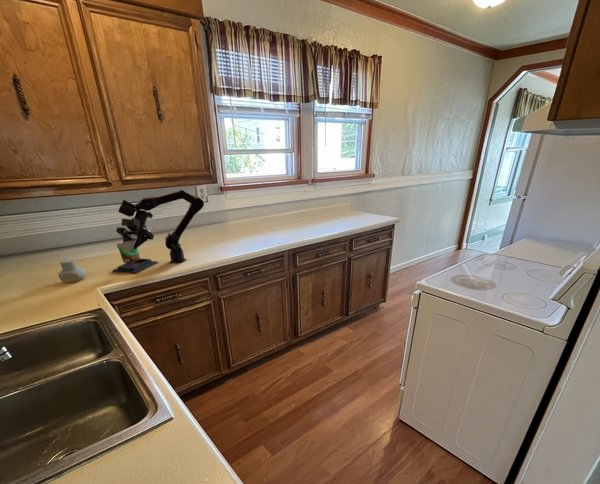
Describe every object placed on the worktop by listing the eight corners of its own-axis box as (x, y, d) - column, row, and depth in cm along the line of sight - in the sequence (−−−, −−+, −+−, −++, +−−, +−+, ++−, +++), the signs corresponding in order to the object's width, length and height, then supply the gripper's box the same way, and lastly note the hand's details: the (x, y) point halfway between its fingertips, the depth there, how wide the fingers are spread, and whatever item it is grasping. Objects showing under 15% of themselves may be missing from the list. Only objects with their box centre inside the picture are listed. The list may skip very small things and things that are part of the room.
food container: (132, 264, 161) (127, 244, 156) (121, 263, 162) (116, 243, 157) (147, 256, 172) (142, 237, 167) (136, 256, 173) (132, 237, 168)
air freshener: (89, 276, 163) (82, 257, 158) (85, 282, 156) (78, 262, 151) (64, 279, 160) (56, 259, 155) (58, 285, 153) (51, 264, 148)
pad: (157, 262, 181) (156, 258, 180) (136, 273, 166) (134, 269, 165) (135, 261, 184) (134, 257, 183) (112, 271, 169) (111, 267, 168)
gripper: (113, 210, 162) (102, 238, 157) (144, 212, 156) (133, 240, 152) (129, 223, 172) (119, 249, 168) (158, 225, 167) (148, 252, 163)
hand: (129, 248), depth 162 cm, fingers closed on food container, 6 cm apart
